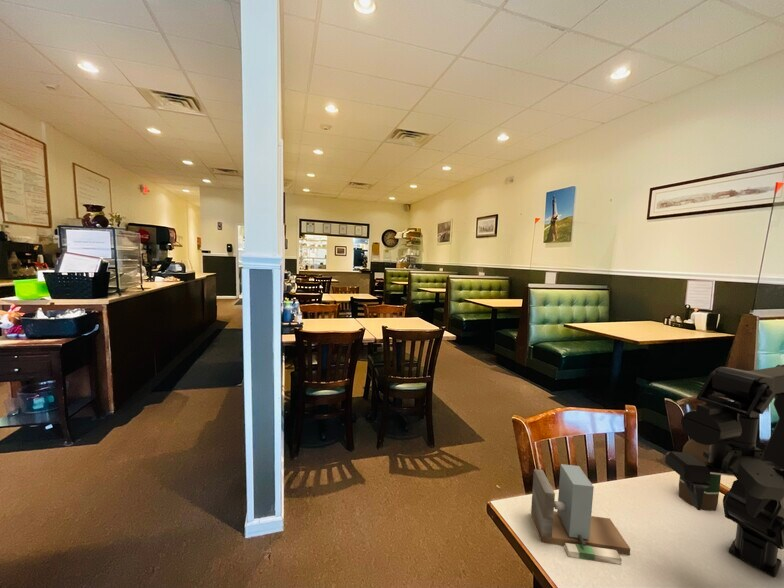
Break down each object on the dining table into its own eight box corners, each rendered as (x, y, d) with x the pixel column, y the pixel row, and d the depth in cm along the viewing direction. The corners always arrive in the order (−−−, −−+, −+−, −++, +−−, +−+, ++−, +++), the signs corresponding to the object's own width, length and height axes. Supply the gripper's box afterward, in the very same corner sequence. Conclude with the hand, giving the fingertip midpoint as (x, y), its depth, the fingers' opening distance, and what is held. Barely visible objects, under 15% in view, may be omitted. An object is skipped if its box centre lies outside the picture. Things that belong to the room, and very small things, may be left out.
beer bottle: (670, 494, 84) (679, 408, 82) (685, 486, 87) (694, 403, 85) (709, 515, 77) (720, 422, 75) (723, 506, 80) (734, 416, 78)
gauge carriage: (575, 514, 74) (579, 466, 73) (594, 548, 65) (598, 493, 64) (548, 510, 75) (551, 463, 74) (563, 544, 66) (567, 490, 65)
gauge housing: (609, 524, 73) (613, 478, 72) (637, 566, 63) (642, 513, 62) (530, 514, 76) (533, 469, 75) (545, 552, 65) (549, 501, 64)
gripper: (714, 454, 53) (704, 540, 54) (846, 467, 50) (832, 557, 52) (666, 422, 64) (659, 494, 65) (773, 432, 61) (763, 507, 62)
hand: (723, 512), depth 61 cm, fingers open, 9 cm apart
